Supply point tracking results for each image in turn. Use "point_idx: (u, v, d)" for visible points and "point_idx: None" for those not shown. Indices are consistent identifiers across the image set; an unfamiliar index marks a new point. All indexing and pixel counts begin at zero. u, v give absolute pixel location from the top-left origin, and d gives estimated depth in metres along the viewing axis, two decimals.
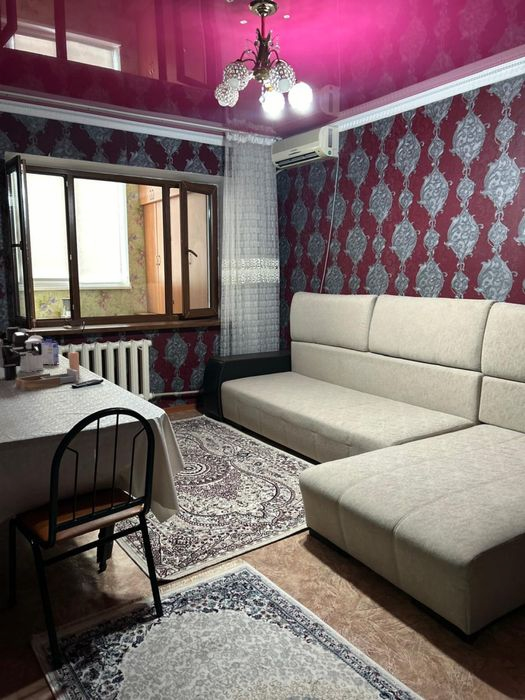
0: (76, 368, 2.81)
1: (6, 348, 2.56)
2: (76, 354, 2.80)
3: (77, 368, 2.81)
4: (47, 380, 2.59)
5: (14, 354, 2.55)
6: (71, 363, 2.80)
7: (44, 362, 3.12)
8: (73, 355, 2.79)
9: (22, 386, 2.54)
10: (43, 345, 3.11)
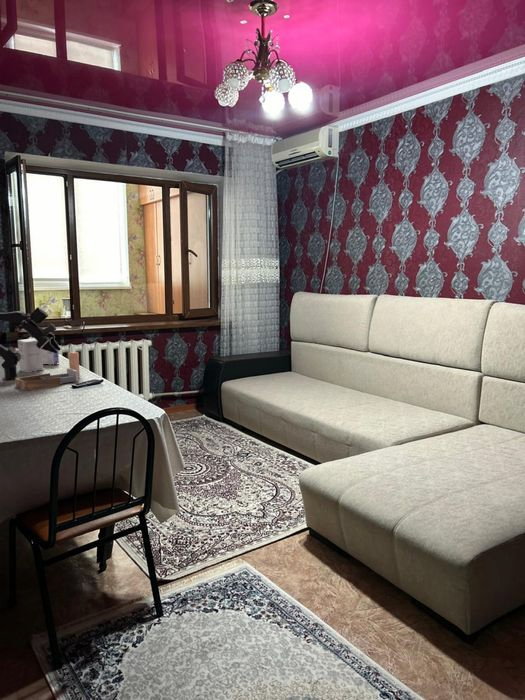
0: (76, 368, 2.81)
1: (48, 342, 2.71)
2: (76, 354, 2.80)
3: (77, 368, 2.81)
4: (47, 380, 2.59)
5: (52, 350, 2.74)
6: (71, 363, 2.80)
7: (44, 362, 3.12)
8: (73, 355, 2.79)
9: (22, 386, 2.54)
10: None
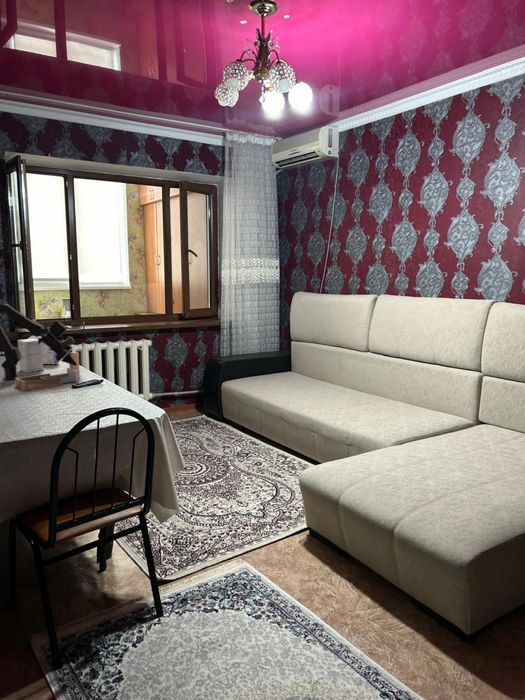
0: (76, 368, 2.81)
1: (68, 354, 2.75)
2: (76, 354, 2.80)
3: (77, 368, 2.81)
4: (47, 380, 2.59)
5: (71, 362, 2.78)
6: None
7: (44, 362, 3.12)
8: (73, 355, 2.79)
9: (22, 386, 2.54)
10: (43, 345, 3.11)
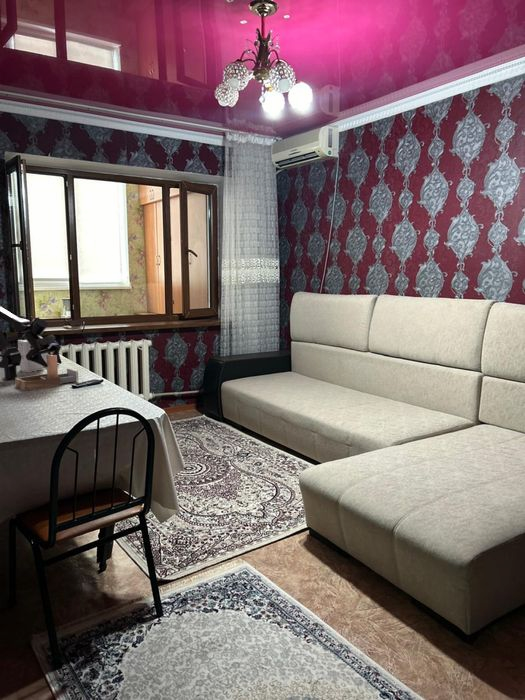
0: (51, 372, 2.64)
1: (36, 354, 2.58)
2: (51, 357, 2.63)
3: (52, 372, 2.64)
4: (47, 380, 2.59)
5: (42, 363, 2.61)
6: None
7: None
8: (48, 358, 2.63)
9: (22, 386, 2.54)
10: None
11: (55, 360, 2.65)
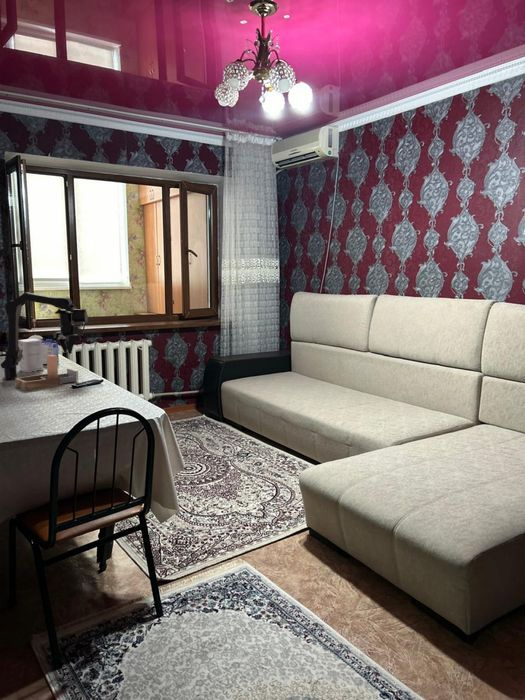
0: (51, 372, 2.64)
1: None
2: (52, 357, 2.63)
3: (53, 372, 2.64)
4: (47, 380, 2.59)
5: (69, 349, 2.74)
6: (47, 366, 2.64)
7: (44, 362, 3.12)
8: (48, 358, 2.63)
9: (22, 386, 2.54)
10: (43, 345, 3.11)
11: (55, 360, 2.65)
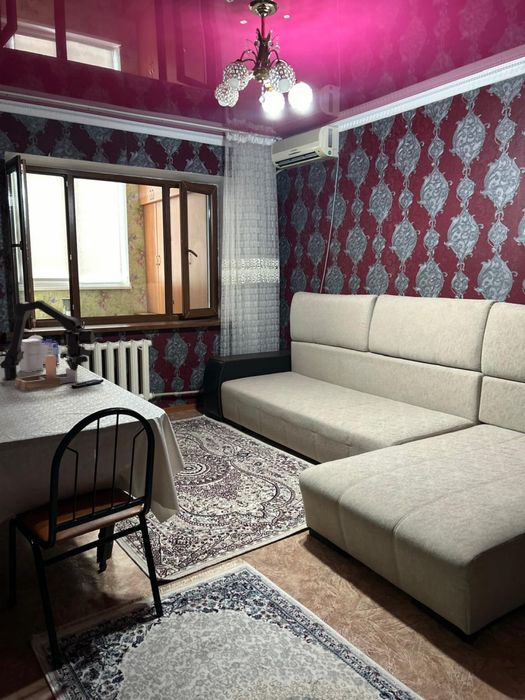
0: (50, 372, 2.64)
1: None
2: (50, 357, 2.63)
3: (51, 372, 2.64)
4: (47, 380, 2.59)
5: (74, 369, 2.74)
6: None
7: (44, 362, 3.12)
8: (47, 358, 2.63)
9: (22, 386, 2.54)
10: (43, 345, 3.11)
11: (54, 360, 2.64)
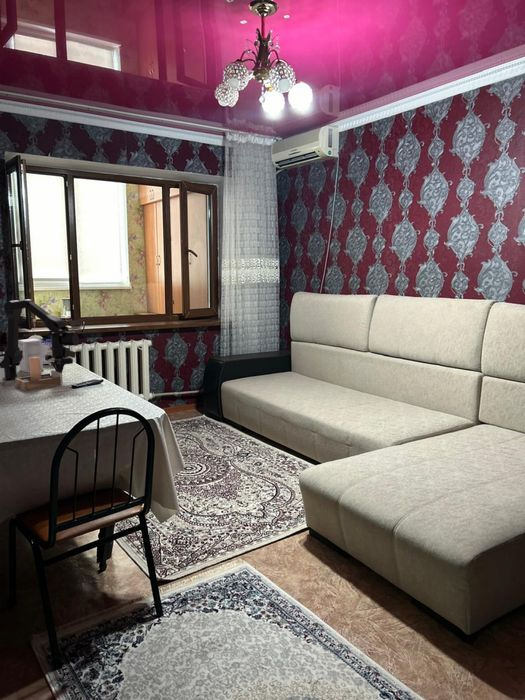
0: (34, 374, 2.59)
1: None
2: (34, 359, 2.58)
3: (36, 375, 2.59)
4: (47, 380, 2.59)
5: (59, 371, 2.69)
6: (30, 369, 2.59)
7: (44, 362, 3.12)
8: (31, 360, 2.57)
9: (22, 386, 2.54)
10: (43, 345, 3.11)
11: (38, 362, 2.59)
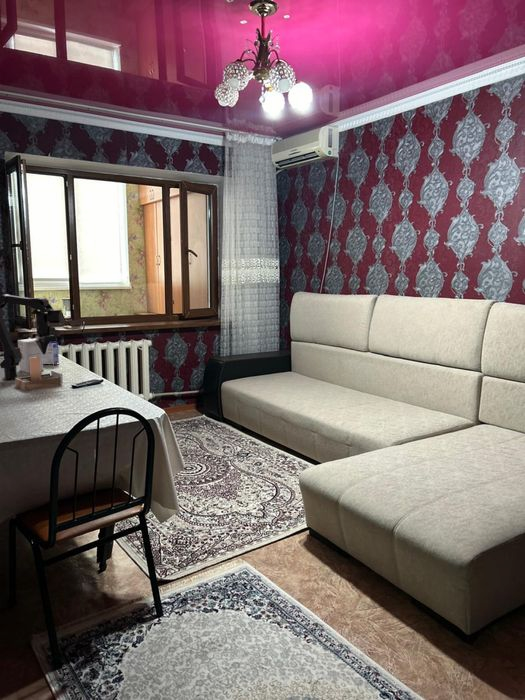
0: (35, 374, 2.59)
1: (50, 341, 2.72)
2: (35, 359, 2.58)
3: (36, 375, 2.59)
4: (47, 380, 2.59)
5: (43, 349, 2.72)
6: (30, 369, 2.59)
7: (44, 362, 3.12)
8: (31, 360, 2.58)
9: (22, 386, 2.54)
10: None
11: (38, 362, 2.59)
